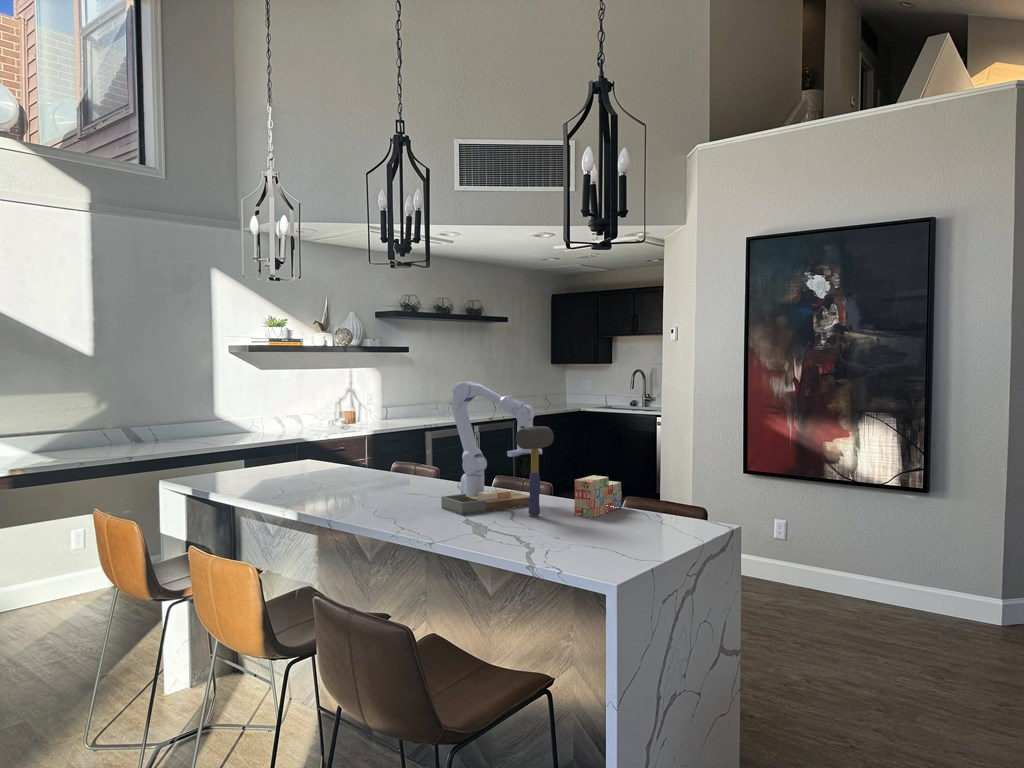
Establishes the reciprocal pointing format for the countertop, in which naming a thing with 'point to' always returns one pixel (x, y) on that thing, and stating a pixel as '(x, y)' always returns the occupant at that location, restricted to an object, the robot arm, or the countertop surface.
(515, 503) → the wooden serving tray
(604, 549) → the countertop surface
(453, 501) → the bin
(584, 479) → the stack of blocks
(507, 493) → the tile back
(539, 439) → the rubber mallet
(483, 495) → the tile front
